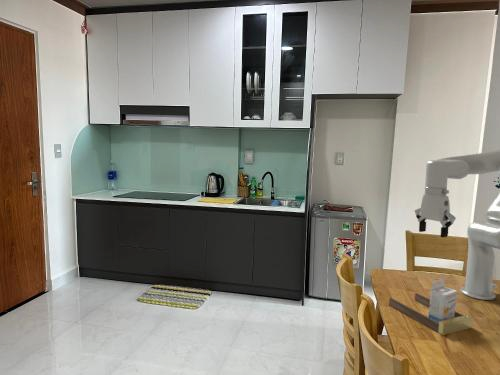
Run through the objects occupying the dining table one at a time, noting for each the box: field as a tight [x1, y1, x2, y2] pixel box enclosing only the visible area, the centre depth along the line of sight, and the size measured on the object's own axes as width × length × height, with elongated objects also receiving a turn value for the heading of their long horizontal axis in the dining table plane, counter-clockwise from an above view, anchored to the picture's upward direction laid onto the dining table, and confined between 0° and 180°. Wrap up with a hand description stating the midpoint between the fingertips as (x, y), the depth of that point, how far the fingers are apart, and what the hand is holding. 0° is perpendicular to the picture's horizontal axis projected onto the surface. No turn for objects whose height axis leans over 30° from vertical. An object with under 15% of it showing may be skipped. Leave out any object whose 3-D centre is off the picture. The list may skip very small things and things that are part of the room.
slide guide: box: [388, 292, 474, 336], centre depth 127 cm, size 14×24×4 cm, turn 22°
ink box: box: [427, 277, 458, 323], centre depth 122 cm, size 8×5×15 cm, turn 122°
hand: (432, 234), depth 137 cm, fingers open, 9 cm apart
